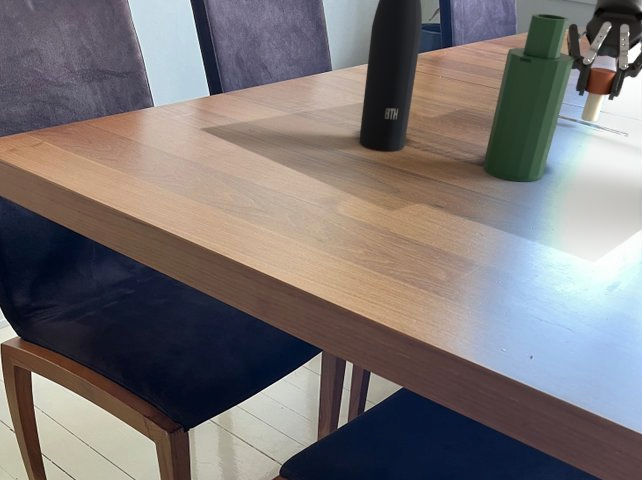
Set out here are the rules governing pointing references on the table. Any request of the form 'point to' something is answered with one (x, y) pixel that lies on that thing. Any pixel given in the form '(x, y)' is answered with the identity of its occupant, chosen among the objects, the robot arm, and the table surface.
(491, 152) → the green bottle
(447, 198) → the table surface
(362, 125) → the black tall cylinder
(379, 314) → the table surface
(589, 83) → the stopper
